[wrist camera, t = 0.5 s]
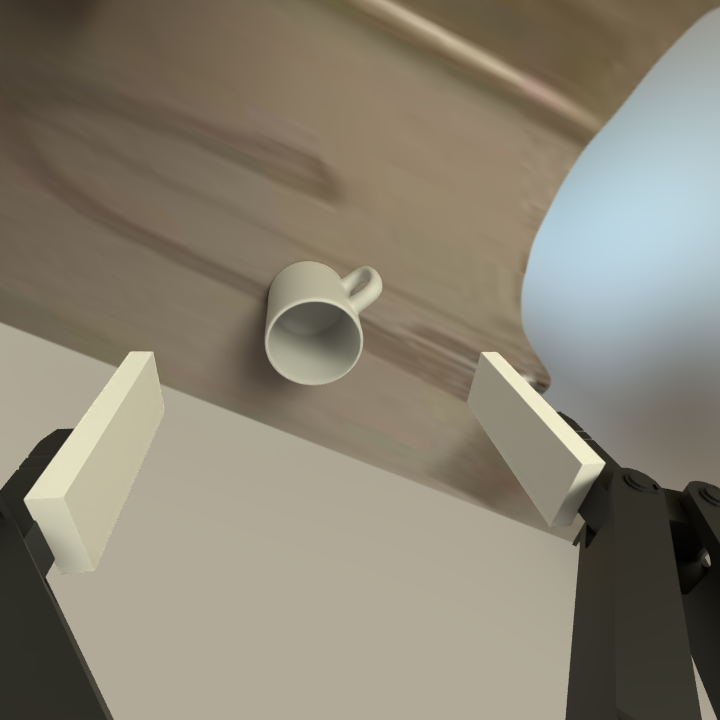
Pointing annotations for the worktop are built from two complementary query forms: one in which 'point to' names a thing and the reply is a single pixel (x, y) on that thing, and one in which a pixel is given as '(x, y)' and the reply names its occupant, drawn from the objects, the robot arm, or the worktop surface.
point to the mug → (317, 321)
